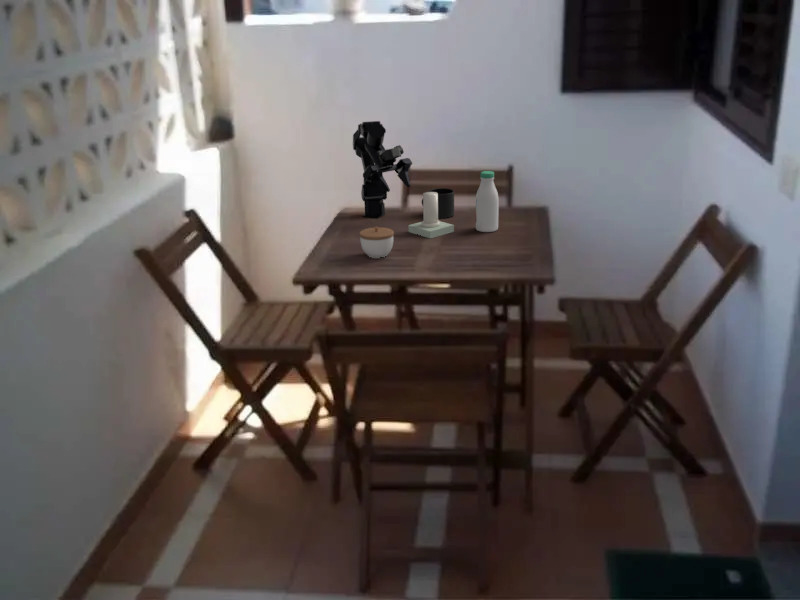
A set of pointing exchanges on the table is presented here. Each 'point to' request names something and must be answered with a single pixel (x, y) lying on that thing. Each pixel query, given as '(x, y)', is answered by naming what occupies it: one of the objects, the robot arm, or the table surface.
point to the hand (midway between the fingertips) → (399, 188)
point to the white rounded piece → (430, 210)
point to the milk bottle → (487, 204)
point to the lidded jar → (377, 241)
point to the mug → (444, 202)
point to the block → (431, 229)
